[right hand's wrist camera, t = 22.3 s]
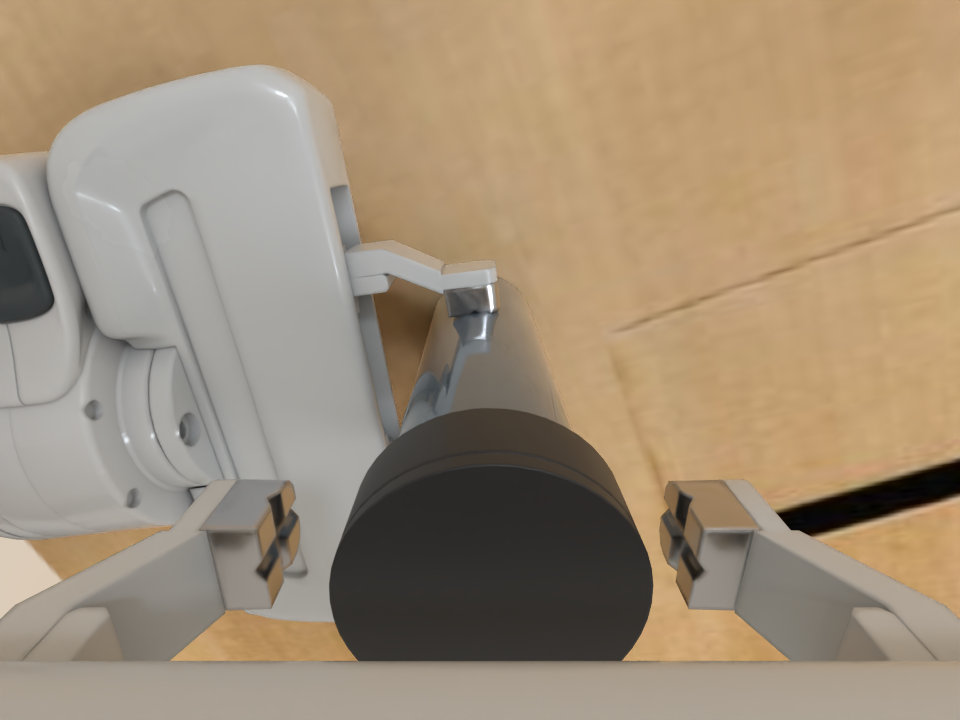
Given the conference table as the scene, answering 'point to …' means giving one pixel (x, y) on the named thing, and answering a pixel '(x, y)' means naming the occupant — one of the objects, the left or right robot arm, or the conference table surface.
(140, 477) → the left robot arm
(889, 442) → the conference table surface
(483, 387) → the grey cylinder
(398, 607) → the lid
